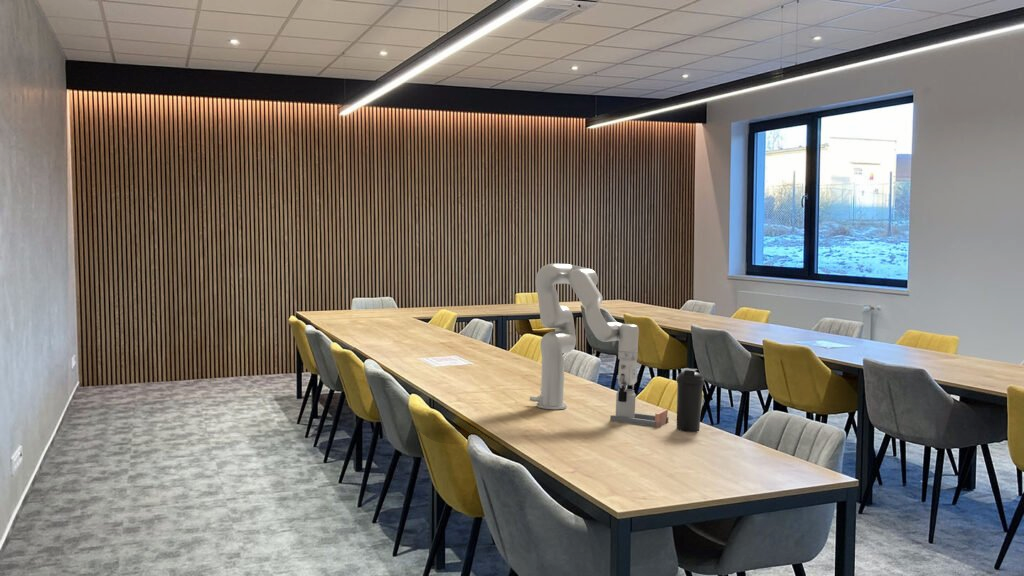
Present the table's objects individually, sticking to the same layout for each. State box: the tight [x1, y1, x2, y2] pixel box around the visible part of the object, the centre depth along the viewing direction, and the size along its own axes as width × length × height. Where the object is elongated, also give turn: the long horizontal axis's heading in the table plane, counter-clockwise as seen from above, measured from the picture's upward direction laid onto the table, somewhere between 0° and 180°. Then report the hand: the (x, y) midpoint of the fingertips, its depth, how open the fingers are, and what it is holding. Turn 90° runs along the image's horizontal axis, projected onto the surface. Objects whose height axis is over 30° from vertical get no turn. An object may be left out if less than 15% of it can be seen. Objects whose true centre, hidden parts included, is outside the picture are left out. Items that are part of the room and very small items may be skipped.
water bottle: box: [676, 367, 705, 433], centre depth 324 cm, size 10×10×23 cm
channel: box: [609, 408, 670, 428], centre depth 335 cm, size 20×11×5 cm, turn 63°
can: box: [615, 389, 637, 418], centre depth 338 cm, size 8×8×12 cm
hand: (625, 399), depth 338 cm, fingers closed on can, 7 cm apart
